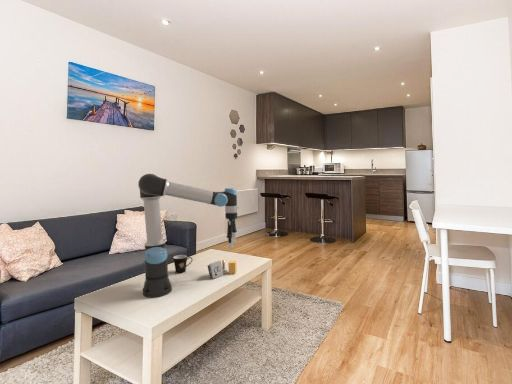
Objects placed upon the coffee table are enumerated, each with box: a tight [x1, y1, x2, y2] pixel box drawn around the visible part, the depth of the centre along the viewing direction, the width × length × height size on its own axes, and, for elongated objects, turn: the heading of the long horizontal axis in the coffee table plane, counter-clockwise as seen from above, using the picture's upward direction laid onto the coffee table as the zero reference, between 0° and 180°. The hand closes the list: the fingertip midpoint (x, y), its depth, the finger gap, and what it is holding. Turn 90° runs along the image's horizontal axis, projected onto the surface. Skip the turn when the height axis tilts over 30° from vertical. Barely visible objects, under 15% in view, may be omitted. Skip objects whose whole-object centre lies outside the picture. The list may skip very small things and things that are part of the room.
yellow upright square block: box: [227, 260, 237, 275], centre depth 184 cm, size 4×4×7 cm
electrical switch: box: [207, 260, 225, 280], centre depth 178 cm, size 9×5×9 cm, turn 141°
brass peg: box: [221, 259, 226, 269], centre depth 187 cm, size 2×2×6 cm
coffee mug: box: [173, 254, 193, 274], centre depth 187 cm, size 12×9×10 cm
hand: (232, 245), depth 183 cm, fingers open, 13 cm apart
